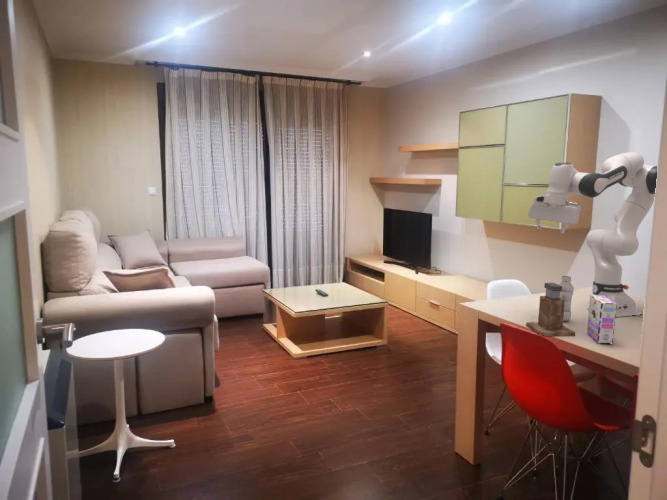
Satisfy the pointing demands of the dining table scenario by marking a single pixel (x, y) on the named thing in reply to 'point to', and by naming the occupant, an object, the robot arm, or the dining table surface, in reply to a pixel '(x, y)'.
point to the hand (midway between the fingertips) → (550, 231)
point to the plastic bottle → (566, 296)
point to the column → (552, 290)
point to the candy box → (601, 318)
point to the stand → (550, 318)
